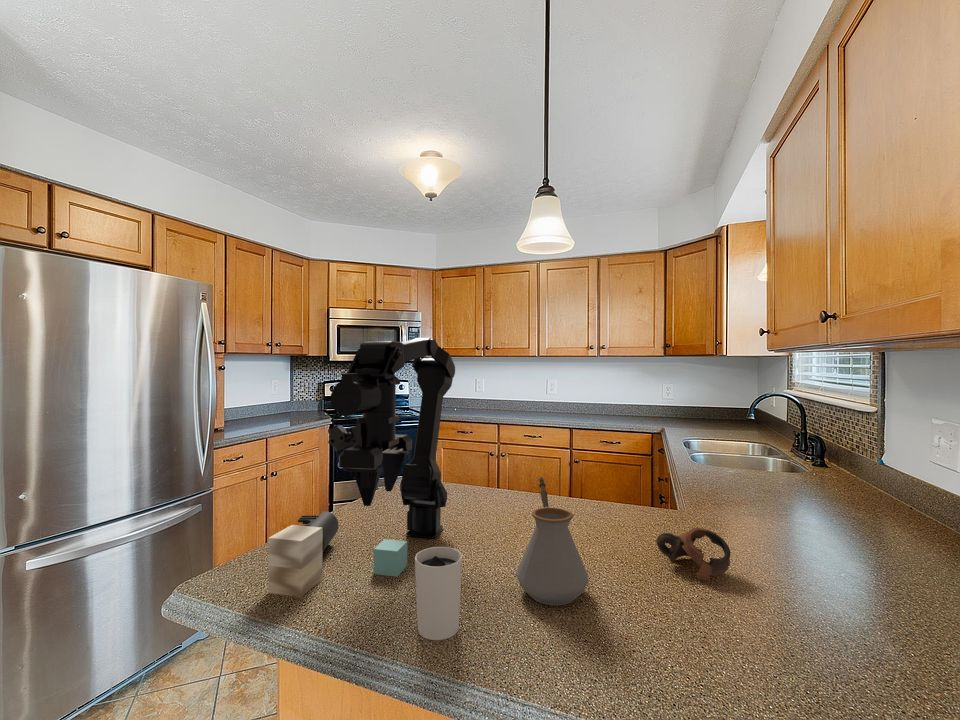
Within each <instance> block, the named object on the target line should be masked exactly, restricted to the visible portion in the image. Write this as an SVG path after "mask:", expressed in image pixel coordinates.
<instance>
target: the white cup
mask: <svg viewBox="0 0 960 720" xmlns="http://www.w3.org/2000/svg"><path fill="white" fill-rule="evenodd" d="M462 555H463V554H462V553H461V552H460V550H458V549H455V548H452V547H449V546H434V547H428V548H425V549H422V550H420V551H418V552H417V553H416V554H415V557H414V571H415V572H414V573H415V591H416V592H415V593H416V594H415V595H416V617H417V618H416V619H417V632H418V633H419V635H420V636H421V637H422V638H424V639H427V640H430V641H442V640H447V639H450V638H451V637H454V636H455V635H456V633H458V632H459V628H460V627H459V626H460V611H461V610H460V608H461V607H460V605H461V587H462V586H461V585H462V584H461V583H462V565H463V564H462V561H463V556H462Z"/></svg>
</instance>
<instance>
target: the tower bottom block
mask: <svg viewBox="0 0 960 720" xmlns="http://www.w3.org/2000/svg"><path fill="white" fill-rule="evenodd" d="M267 577H268V583H267V584H268V585H267V586H268V587H267V588H268V594H276V595H281V596H290V597H298V598H302V597H303V596H304V595H305V594H307V593H308V592H309V591H310V590H312V588H314V587H315V586H317V584H319V583H320V582H321V581H322V580H323V553H322V554H321V555H320V556H319V557H317V558H316V559H315V560H313V561H312V562H310V563H309V564H308V565H306V566H305V567H304V568H302V569H294V568H285V567H276V566H268V576H267Z"/></svg>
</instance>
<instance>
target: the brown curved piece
mask: <svg viewBox="0 0 960 720" xmlns="http://www.w3.org/2000/svg"><path fill="white" fill-rule="evenodd" d="M705 537H708V538H709V540H710V542H711V543H712V544H714V545H716V546H718V547H720V548H721V549H722V551H723V554H724V556H723V557H720V558H715V557H710V558H709V562H707V561H705V560H704V556H705V555H704V553H703V550H702V549H701V548H697V547H696V545H695V544H694V543H695V542H696V541H697V540H699V539H702V538H705ZM655 540H656V546H657V548H658V550H659V551H660V553H662V554H663V555H664V556H666V557H667V558H668V559H669V562H670V563H671V564H675V561H676V560H677V559H678V558H681V557H689V558H691V560H693V562H695V564H697V565H698V566H699V568H698V571H697V572H696V574H695V575H696V578H697V579H698V580H701V581H702V582H706V581H708V580H710V578H715V577H717V576H720V575H722V574H724V573H726V572H727V571H728V570H729V567H730V566H731V559H730V558H731V554H732V553H731V548H730V546H729V545H728V544H727V542H726V541H725V540H724V539H723V538H722V537H721V536H720V535H719V534H717V533H715V532H714V531H711V530H708V529H705V528H701V527H693V528H690V529H689V530H687V531H686V532H683V533H682V534H680V535H675V534H673V533H670V532H663V533H660V534H659V535H658V536H657V538H656V539H655ZM666 544H669V545H670V547H668V546H667V545H666Z"/></svg>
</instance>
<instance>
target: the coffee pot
mask: <svg viewBox="0 0 960 720" xmlns="http://www.w3.org/2000/svg"><path fill="white" fill-rule="evenodd" d="M537 481H539V484H538V483H537ZM545 482H546V483H545ZM535 484H536V485H537V486H538V487H539V488H540V491H539V493H540V499H541V502H542V506H543V507H540V508H537V509H534V510H533V511H532V513H531V516H532V518H534V521H535V527H534V530H533V531H532V535H531V537H530V539H529V541H528V544H527V545H526V548H525V550H524V554H523V556H522V558H521V561H520V562H519V565H518V566H517V567H518V568H517V570H516V571H517V572H516V579H517V580H518V584H519V585H520V587H521V588H522V589H523V590H524V592H526V594H527V595H528V596H529V597H530V598H531V599H533V600H535V602H537V603H540V604H543V605H546V606H547V605H549V606H564V605H568V604H570V603H572V602H574V601H575V600H576V598H579V596H581V594H583V593H584V592H585V591H586V588H587V586H588V583H589V577H588V576H589V575H588V573H587V570H586V568H585V564H584V562H583V560H582V557H581V555H580V554H579V551H578V548H577V547H576V543H575V541H574V539H573V537H572V534H571V530H570V529H569V525H570V523H571V521H572V519H573V518H574V516H575V514H574V513H573V512H571V511H569V510H566V509H563V508H560V507H559V508H558V507H549V499H548V491H547V489H546V485H547V484H548V480H547V479H546V478H543V477H542V476H540V477H539V478H537V479H535Z"/></svg>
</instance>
